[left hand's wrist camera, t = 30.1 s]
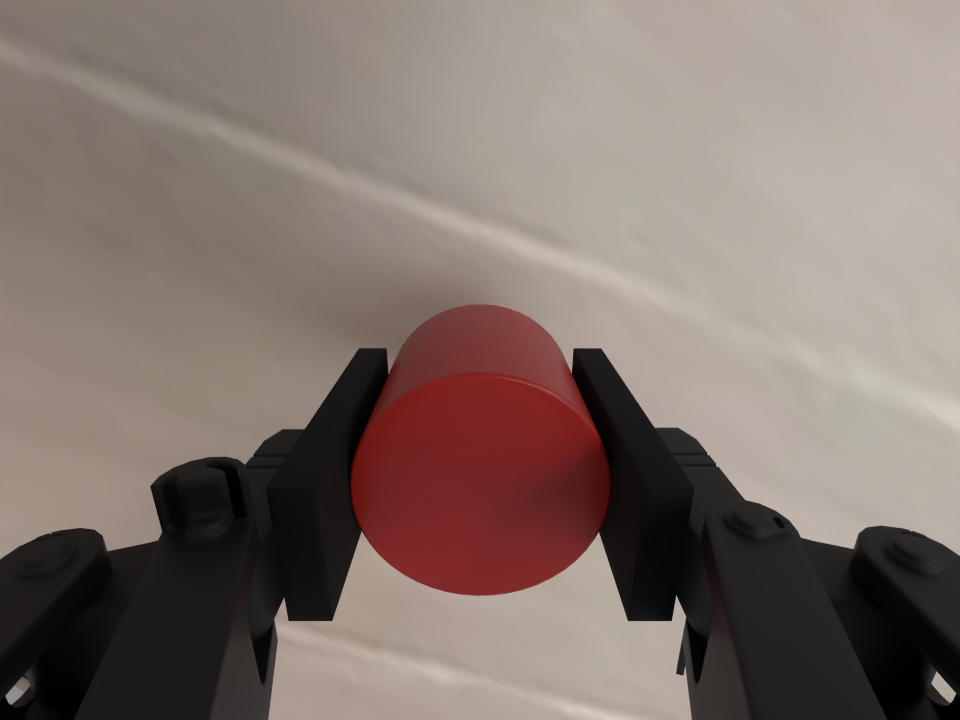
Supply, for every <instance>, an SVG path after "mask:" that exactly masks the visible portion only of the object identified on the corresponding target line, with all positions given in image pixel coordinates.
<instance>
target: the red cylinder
mask: <svg viewBox="0 0 960 720" xmlns="http://www.w3.org/2000/svg"><path fill="white" fill-rule="evenodd" d="M611 484H612V480H611V468H610V464H609V460H608V456H607V452H606V450H605V447H604V445H603V443H602V440H601V438H600V436H599V433H598V431H597V429H596V427H595V425H594V422H593V420H592V418H591V416H590V413H589V411H588V409H587V407H586V405H585V402H584V400H583V398H582V396H581V393H580V391H579V389H578V387H577V384H576V382H575V380H574V378H573V376H572V373H571V371H570V369H569V367H568V364H567V362H566V360H565V358H564V355H563V353H562V351H561V350H560V348H559V346H558V345H557V343H556V342H555V340H554V339H553V338H552V337H551V335H550V334H549V333H548V332H547V331H546V330H545V329H544V328H543V327H541V326H540V325H539V324H538V323H536V322H535V321H533V320H532V319H531V318H529V317H527V316H525V315H523V314H521V313H519V312H516V311H514V310H511V309H508V308H504V307H499V306H494V305H467V306H461V307H457V308H453V309H450V310H447V311H444V312H442V313H440V314H438V315H435V316H434V317H432V318H431V319H429V320H427V321H426V322H424V323H423V324H422V325H421V326H419V327H418V328H417V329H416V330H415V331H414V332H413V333H412V334H411V335H410V336H409V337H408V339H407V340H406V341H405V343H404V344H403V346H402V347H401V349H400V351H399V353H398V355H397V357H396V359H395V361H394V364H393V366H392V368H391V371H390V373H389V375H388V377H387V380H386V382H385V384H384V386H383V389H382V391H381V393H380V395H379V398H378V400H377V402H376V405H375V407H374V409H373V411H372V414H371V416H370V418H369V420H368V423H367V425H366V427H365V429H364V432H363V434H362V436H361V438H360V441H359V443H358V445H357V448H356V451H355V454H354V457H353V460H352V466H351V472H350V495H351V502H352V506H353V510H354V513H355V516H356V519H357V522H358V524H359V526H360V528H361V530H362V532H363V534H364V535H365V537H366V538H367V540H368V541H369V543H370V545H371V546H372V547H373V548H374V549H375V550H376V552H377V553H378V554H379V555H380V556H381V557H382V558H383V559H384V560H385V561H387V562H388V563H389V564H390V565H391V566H392V567H394V568H395V569H397V570H398V571H399V572H401V573H402V574H404V575H406V576H407V577H409V578H411V579H413V580H415V581H417V582H419V583H421V584H424V585H426V586H429V587H431V588H435V589H438V590H442V591H445V592H450V593H456V594H462V595H475V596H482V595H498V594H506V593H511V592H515V591H520V590H523V589H526V588H529V587H532V586H535V585H538V584H540V583H542V582H544V581H546V580H548V579H550V578H552V577H554V576H555V575H557V574H559V573H560V572H562V571H563V570H565V569H566V568H567V567H569V566H570V565H571V564H572V563H574V562H575V561H576V560H577V559H578V558H579V557H580V556H581V555H582V554H583V553H584V552H585V551H586V550H587V548H588V547H589V546H590V544H591V543H592V542H593V540H594V539H595V537H596V536H597V534H598V532H599V530H600V529H601V527H602V525H603V522H604V519H605V517H606V514H607V511H608V507H609V502H610V496H611Z"/></svg>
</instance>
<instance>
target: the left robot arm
mask: <svg viewBox="0 0 960 720" xmlns="http://www.w3.org/2000/svg"><path fill="white" fill-rule="evenodd" d="M572 376H573V378H574V380H575V382H576V384H577V387H578V389H579V391H580V393H581V396H582V398H583V400H584V402H585V405H586V407H587V409H588V411H589V413H590V416H591V418H592V420H593V422H594V425H595V427H596V429H597V431H598V433H599V436H600V438H601V440H602V443H603V445H604V447H605V450H606V452H607V456H608V460H609V464H610V468H611V480H612V484H611V496H610V502H609V507H608V511H607V514H606V517H605V519H604V522H603V525H602V527H601V529H600V530H599V533H600V536H601V539H602V543H603V546H604V549H605V552H606V555H607V558H608V561H609V564H610V567H611V570H612V573H613V576H614V579H615V582H616V585H617V588H618V592H619V595H620V598H621V601H622V604H623V607H624V610H625V613H626V616H627V619H628V621H672V616H673V611H674V605H675V599H676V595H677V597H678V600H679V602H680V604H681V606H682V608H683V610H684V613H685V615H686V621H685V627H684V632H683V637H682V643H681V648H680V654H679V659H678V665H677V672H676V674H679V675H683V674H684V669H685V666H686V674H687V682H688V691H689V699H690V707H691V715H692V720H960V556H959V555H958V554H956V553H955V552H953V551H952V550H950V549H949V548H947V547H946V546H944V545H943V544H941V543H938V542H936V541H934V540H932V539H930V538H928V537H926V536H925V535H923V534H920V533H917V532H914V531H912V532H911V531H910V530H907V529H902V528H895V527H887V526H875V527H867V528H865V529H864V530H863V531H861V532H860V533H859V534H858V537H857V540H856V544H855V547H854V549H850V548H845V547H840V546H835V545H830V544H825V543H820V542H815V541H811V540H807V539H804V538H801V537H800V535H799V533H798V531H797V530H796V528H795V527H794V526H793V525H792V523H791V522H790V521H789V520H788V519H786V518H785V517H784V516H782V515H781V514H779V513H778V512H777V511H775V510H773V509H770V508H768V507H766V506H763V505H761V504H759V503H755V502H750V501H746V500H744V498H743V497H742V496H741V495H740V493H739V492H738V491H737V490H736V488H735V487H734V486H733V484H732V483H731V482H730V481H729V479H728V478H727V477H726V476H725V474H724V473H723V472H722V471H721V469H720V468H719V467H716V463H715V462H714V461H713V459H712V458H711V457H710V456H709V455H707V452H706V451H705V449H704V448H703V447H702V446H701V444H700V443H699V442H698V441H697V439H695V438H694V437H692V436H690V435H689V434H687V433H686V432H684V431H682V430H681V429H679V428H654V426H653V425H652V423H651V422H650V420H649V419H648V417H647V416H646V414H645V413H644V411H643V410H642V408H641V407H640V406H639V404H638V403H637V401H636V400H635V398H634V397H633V395H632V394H631V392H630V391H629V389H628V388H627V386H626V385H625V383H624V382H623V380H622V379H621V377H620V376H619V374H618V373H617V371H616V370H615V368H614V367H613V365H612V364H611V362H610V361H609V359H608V358H607V356H606V355H605V353H604V352H603V350H602V349H601V348H574V351H573V366H572ZM387 377H388V361H387V348H359V349H358V351H357V352H356V354H355V355H354V357H353V358H352V360H351V361H350V363H349V364H348V366H347V367H346V369H345V370H344V372H343V373H342V375H341V376H340V378H339V379H338V381H337V382H336V384H335V385H334V387H333V388H332V390H331V391H330V393H329V394H328V396H327V397H326V399H325V400H324V402H323V403H322V404H321V406H320V407H319V409H318V410H317V412H316V413H315V415H314V416H313V418H312V419H311V421H310V422H309V424H308V425H307V427H306V428H305V429H282V430H281V431H279V432H278V433H276V434H275V435H273V436H271V437H270V438H268V439H267V440H265V441H264V442H263V443H262V444H261V446H260V447H259V448H258V449H257V451H256V452H255V453H254V456H253V457H251V458H250V460H249V461H248V462H247V463H246V465H244V464H243V463H242V462H241V461H239V460H238V459H233V458H229V457H208V458H204V459H199V460H194V461H190V462H187V463H185V464H182V465H180V466H177V467H174V468H172V469H171V470H169V471H168V472H166V473H164V474H163V475H161V476H159V477H158V478H157V480H156V481H155V482H154V483H153V484H152V485H151V486H150V487H151V491H152V495H153V498H154V502H155V506H156V510H157V514H158V517H159V521H160V525H161V529H162V534H161V536H160V538H159V540H158V541H154V542H150V543H146V544H141V545H136V546H131V547H127V548H122V549H117V550H112V551H107V548H106V545H105V542H104V539H103V536H102V535H101V534H99V533H98V532H97V531H95V530H92V529H84V528H76V529H68V530H60V531H56V532H52V533H51V534H49V533H48V534H45V535H43V536H40V537H37V538H36V539H34V540H32V541H30V542H28V543H26V544H24V545H22V546H19V547H18V548H16V549H15V550H13V551H12V552H10V553H9V554H7V555H6V556H5V557H3V558H2V559H0V720H268V717H269V709H270V700H271V692H272V683H273V675H274V667H275V658H276V650H277V642H278V640H277V633H276V627H275V621H274V618H275V616H276V614H277V612H278V610H279V607H280V605H281V603H282V601H283V599H284V597H285V603H286V609H287V614H288V620H289V621H332V620H333V617H334V614H335V611H336V608H337V605H338V602H339V599H340V596H341V592H342V589H343V586H344V583H345V580H346V577H347V574H348V571H349V568H350V565H351V562H352V559H353V556H354V553H355V550H356V547H357V543H358V540H359V537H360V534H361V531H362V530H361V528H360V526H359V524H358V522H357V519H356V516H355V513H354V510H353V506H352V502H351V495H350V472H351V466H352V460H353V457H354V454H355V451H356V448H357V445H358V443H359V441H360V438H361V436H362V434H363V432H364V429H365V427H366V425H367V423H368V420H369V418H370V416H371V414H372V411H373V409H374V407H375V405H376V402H377V400H378V398H379V395H380V393H381V391H382V389H383V386H384V384H385V382H386V380H387ZM936 671H937V672H938V673H939V674H940V675H941V677H942V678H943V679H944V680H945V681H946V682H947V683H948V684H949V686H950V687H951V688H952V689H953V690H954V691H955V692H956V695H955V697H954V700H953V701H952V702H951V703H949V702H948V701H947V700H946V699H945V698H944V697H943V696H941V695H940V693H939V692H938V691H937V690H936V689H935V688H934V686H933V685H932V684H931V683H932V681H933V678H934V676H935V674H936ZM24 674H25V675H26V677H27V679H28V682H29V684H30V686H29V688H28V689H27V690H26V691H25V692H24V694H23V695H22V696H21V697H20V698H19V699H18V700H16V701H15V702H14V703H13V704H12V705H11V704H9V703H8V701H7V698H6V695H7V694H8V692H9V691H10V690H11V689H12V688H13V687H14V686H15V684H16V683H17V682H18V681H19V680H20V679H21V678H22V676H23V675H24Z"/></svg>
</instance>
